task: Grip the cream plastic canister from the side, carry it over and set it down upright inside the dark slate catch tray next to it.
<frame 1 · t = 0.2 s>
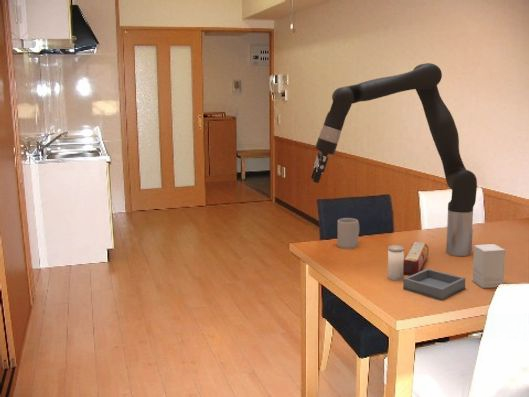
hand: (314, 180, 207), 31 cm above the table, tool tilted 20°, fingers open, 8 cm apart
supplement box: (487, 284, 181), on the table
canister: (395, 277, 189), on the table
snack package: (415, 267, 200), on the table
mug: (350, 245, 230), on the table
catch tray: (434, 288, 178), on the table
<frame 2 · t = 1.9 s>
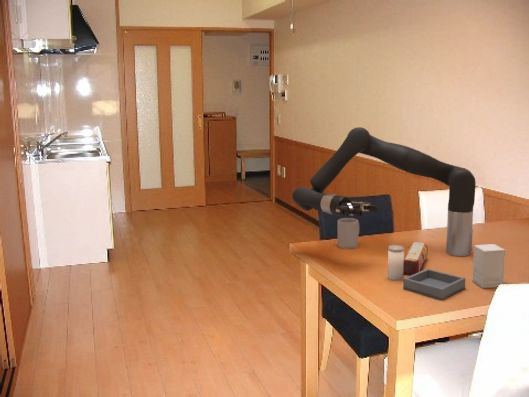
hand: (370, 211, 193), 22 cm above the table, tool horizontal, fingers open, 8 cm apart
nothing on the table moved.
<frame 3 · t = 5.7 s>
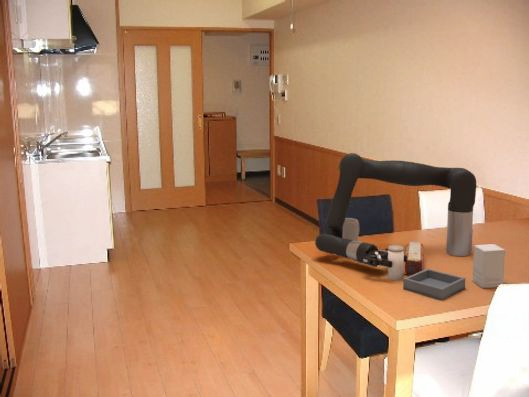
hand: (399, 261, 187), 6 cm above the table, tool horizontal, fingers open, 8 cm apart
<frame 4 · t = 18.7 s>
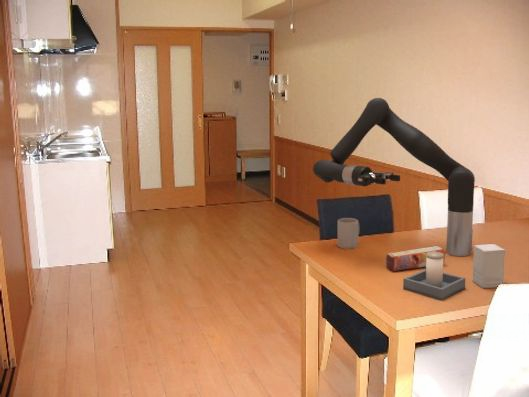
hand: (392, 179, 196), 32 cm above the table, tool horizontal, fingers open, 8 cm apart
canister: (433, 286, 178), point 1 cm above the table, touching catch tray
at the end: canister inside the target area on the catch tray (0.1 cm from its centre), point 0.8 cm above the catch tray's base; canister tilted 0°; the gripper is holding nothing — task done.
